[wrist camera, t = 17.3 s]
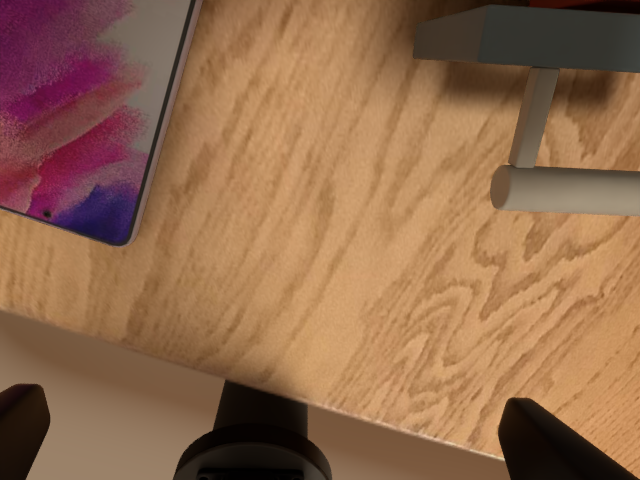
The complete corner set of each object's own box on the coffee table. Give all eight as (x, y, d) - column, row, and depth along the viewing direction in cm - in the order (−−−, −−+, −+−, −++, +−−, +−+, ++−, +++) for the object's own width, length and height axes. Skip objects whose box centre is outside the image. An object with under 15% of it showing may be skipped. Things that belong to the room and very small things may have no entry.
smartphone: (239, -139, 14) (129, 254, 19) (242, -128, 14) (136, 246, 20) (-6, -272, 12) (-48, 195, 18) (13, -252, 13) (-33, 189, 18)
